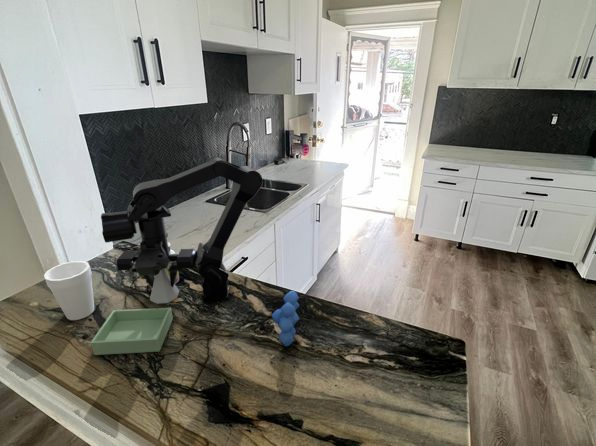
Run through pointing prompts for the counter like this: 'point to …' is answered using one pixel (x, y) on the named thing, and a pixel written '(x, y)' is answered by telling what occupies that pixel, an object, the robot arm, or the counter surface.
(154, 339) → the green tray
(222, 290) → the robot arm
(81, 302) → the foam cup
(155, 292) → the flask
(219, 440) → the counter surface
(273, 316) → the grapes
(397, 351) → the counter surface
